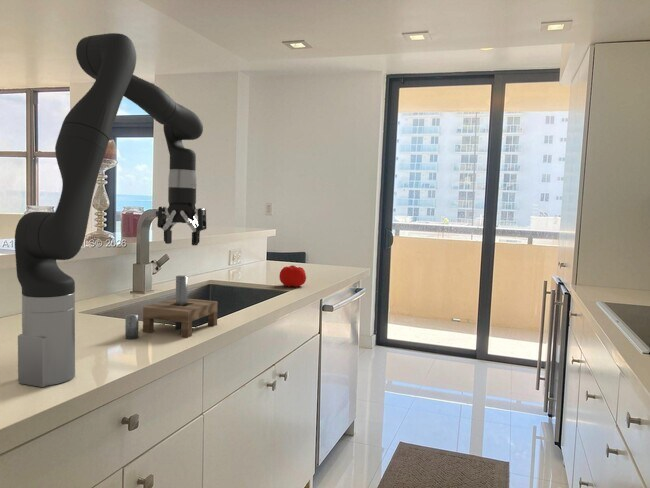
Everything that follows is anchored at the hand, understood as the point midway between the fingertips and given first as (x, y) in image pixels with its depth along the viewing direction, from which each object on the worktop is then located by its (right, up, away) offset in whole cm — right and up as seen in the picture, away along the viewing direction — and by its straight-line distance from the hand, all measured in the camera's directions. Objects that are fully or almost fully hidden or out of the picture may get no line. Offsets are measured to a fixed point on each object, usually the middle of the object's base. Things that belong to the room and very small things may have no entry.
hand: (181, 244), depth 144 cm
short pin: (-10, -25, -10) cm, 28 cm away
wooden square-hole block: (-1, -24, +2) cm, 24 cm away
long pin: (-1, -24, +2) cm, 24 cm away
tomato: (+26, -19, +84) cm, 90 cm away
